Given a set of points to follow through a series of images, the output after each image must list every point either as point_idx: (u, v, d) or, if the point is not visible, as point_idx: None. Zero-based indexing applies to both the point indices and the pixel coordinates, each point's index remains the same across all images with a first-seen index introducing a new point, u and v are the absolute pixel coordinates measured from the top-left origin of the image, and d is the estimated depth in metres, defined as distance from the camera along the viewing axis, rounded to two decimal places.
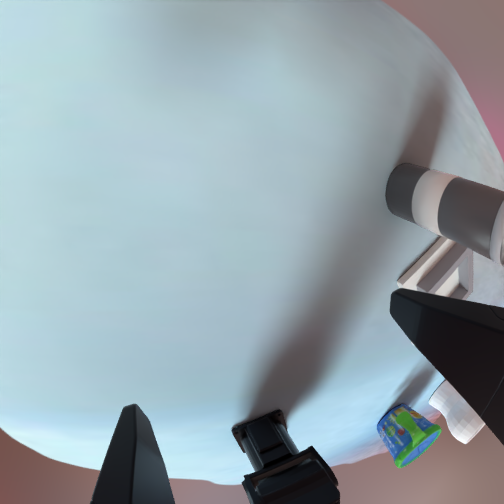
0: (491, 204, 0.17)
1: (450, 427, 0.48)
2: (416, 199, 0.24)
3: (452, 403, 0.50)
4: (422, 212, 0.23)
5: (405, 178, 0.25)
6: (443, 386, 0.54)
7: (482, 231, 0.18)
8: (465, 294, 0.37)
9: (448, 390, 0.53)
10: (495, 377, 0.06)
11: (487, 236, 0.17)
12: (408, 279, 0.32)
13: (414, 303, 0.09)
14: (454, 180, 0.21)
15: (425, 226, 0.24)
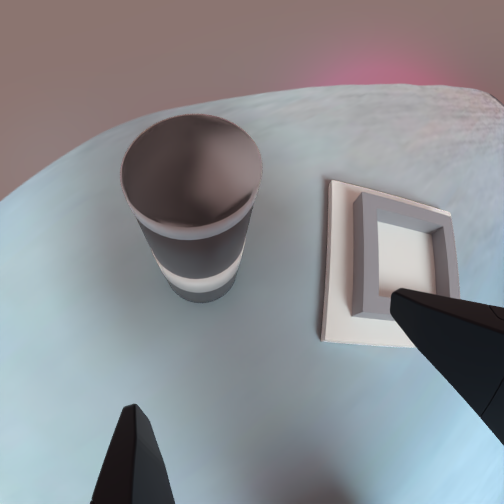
0: None
1: None
2: (167, 277, 0.19)
3: None
4: (178, 282, 0.18)
5: None
6: None
7: (152, 236, 0.12)
8: (444, 233, 0.24)
9: None
10: (495, 377, 0.06)
11: (154, 233, 0.12)
12: (326, 326, 0.22)
13: (414, 303, 0.09)
14: None
15: (205, 287, 0.18)
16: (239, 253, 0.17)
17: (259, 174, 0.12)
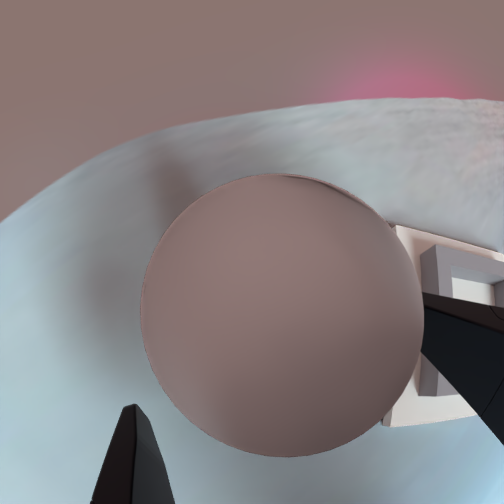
0: None
1: None
2: None
3: None
4: None
5: None
6: None
7: None
8: None
9: None
10: (495, 377, 0.06)
11: None
12: (392, 411, 0.16)
13: None
14: None
15: None
16: None
17: (420, 319, 0.06)
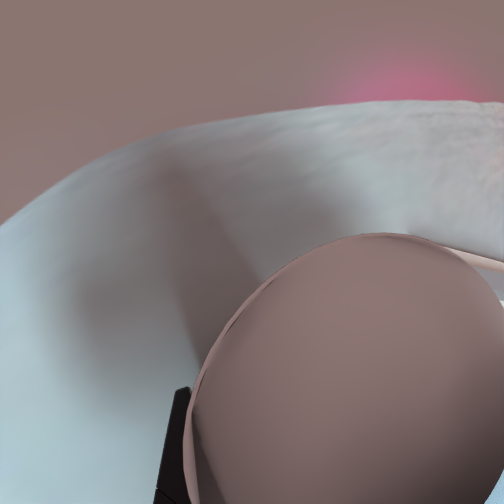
0: None
1: None
2: None
3: None
4: None
5: None
6: None
7: None
8: None
9: None
10: None
11: None
12: None
13: None
14: None
15: None
16: None
17: None
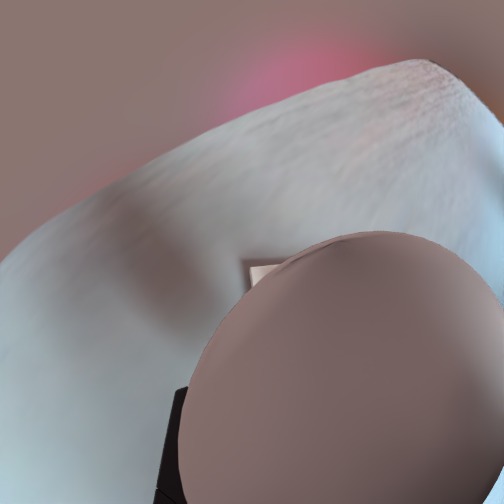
0: None
1: None
2: None
3: None
4: None
5: None
6: None
7: None
8: None
9: None
10: None
11: None
12: None
13: None
14: None
15: None
16: None
17: None
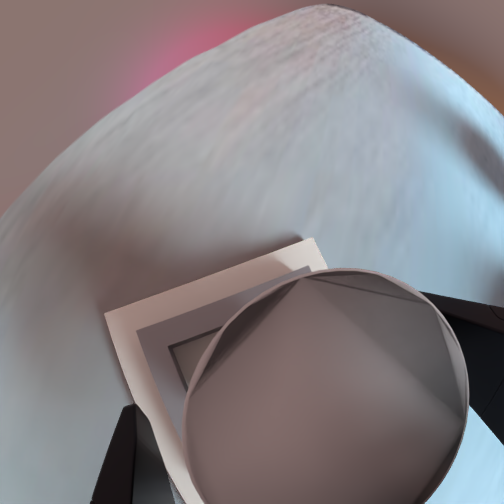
0: None
1: None
2: None
3: None
4: None
5: None
6: None
7: None
8: None
9: None
10: (496, 377, 0.06)
11: None
12: None
13: None
14: None
15: None
16: None
17: (465, 416, 0.04)
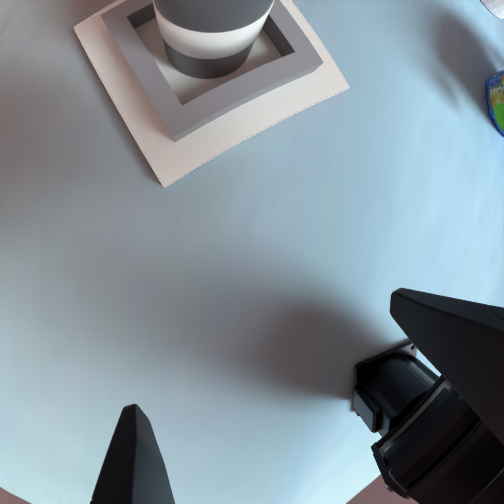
0: None
1: None
2: (178, 47, 0.12)
3: None
4: (195, 46, 0.12)
5: (164, 45, 0.14)
6: None
7: None
8: None
9: None
10: (496, 377, 0.06)
11: None
12: (156, 172, 0.17)
13: (414, 303, 0.09)
14: None
15: (229, 47, 0.12)
16: (272, 2, 0.10)
17: None
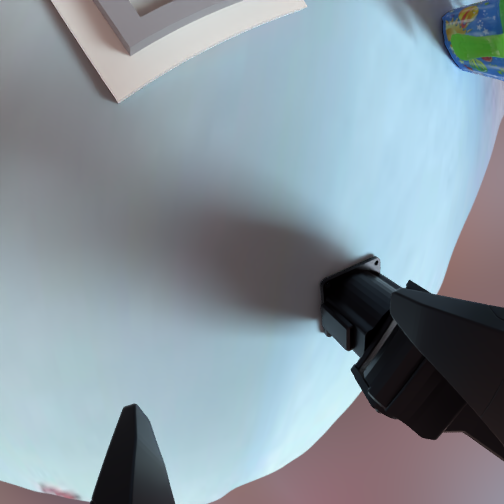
0: None
1: None
2: None
3: None
4: None
5: None
6: None
7: None
8: None
9: None
10: (496, 377, 0.06)
11: None
12: (109, 87, 0.14)
13: (414, 303, 0.09)
14: None
15: None
16: None
17: None
